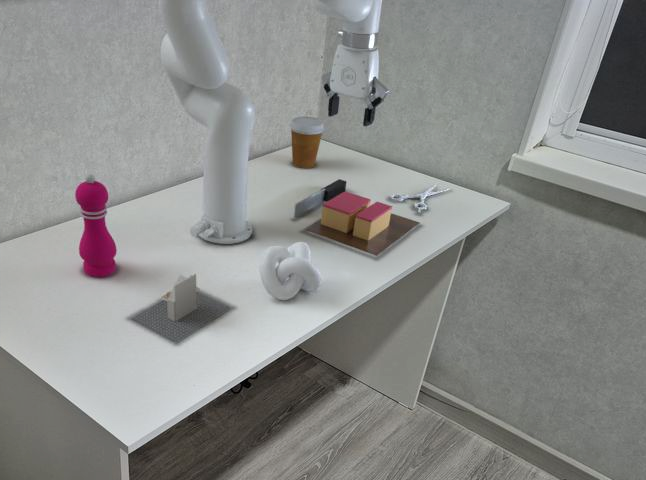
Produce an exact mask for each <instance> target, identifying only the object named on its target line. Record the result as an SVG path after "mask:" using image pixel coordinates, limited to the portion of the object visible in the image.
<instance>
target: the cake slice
mask: <svg viewBox="0 0 646 480" xmlns="http://www.w3.org/2000/svg"><path fill="white" fill-rule="evenodd" d="M392 210H393V206H392V205H390V204H387V203H383V202H380V201H375V202H373V203H372V204H370V206H369V207H368V208H366V209H365V210H363V211H361V212H360V213H358V214H357V215H356V218H355V224H354V231H353V236H356V237H359V238H362V239H365V240H367V241H369V240H370V239H371V238H373V237H374V236H376V235H377V234H378V233H380V232H381V231H382V230H384V229H385V228H387V227H388V226H389V222H390V216H391V213H392Z"/></svg>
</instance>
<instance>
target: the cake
mask: <svg viewBox="0 0 646 480" xmlns="http://www.w3.org/2000/svg"><path fill="white" fill-rule="evenodd" d="M371 201H372V200H371V198H368V197H364V196H361V195H358V194H355V193H352V192H349V191H346V190H345V192H343V193H341V194H339V195H338V196H336V197H334V198H333V199H331V200H329V201H327V202H326V201H325V202H324V203H323V204H322V208H321V210H322V211H321V218H320V219H321V224H322V225H325V226H328V227H331V228H334V229H336V230H339V231H342V232H345V233H347V232H349V231H350V230H352V229H353V228H354V224H355V218H356V215H357V214H358V213H360V212H361V211H363V210H365V209H366V208H368V207H369V206H371Z"/></svg>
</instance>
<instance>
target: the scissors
mask: <svg viewBox="0 0 646 480" xmlns="http://www.w3.org/2000/svg"><path fill="white" fill-rule="evenodd" d="M436 187H437V184H435V185H434V186H431V188H429V189H427V190H426V191H424V192H422V193H417V194H406V195H404V194H391V195H390V196H389V199H391V200H394V201H397V202H404V200H405V199H420V202H414V203H413V207H414V208H416V209H418V210H417V212H418V213H421V212H422V211H421V210H427V204H426V203H425V199H426V198H427V197H430V196H433V195H436V194H437V195H438V194H440V193H443V192H446V191H449V190H450V188H447V189H442V190H437V191H433V190H434V189H435V188H436Z"/></svg>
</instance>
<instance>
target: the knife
mask: <svg viewBox="0 0 646 480" xmlns="http://www.w3.org/2000/svg"><path fill="white" fill-rule="evenodd" d="M346 189H347V180H343V179H341V178H339V179H337V180H335V181H333V182H331V183H329V184H328V185H326V186H324V187H322V188H321V189H319V190H318V191H316V192H314V193H313V194H311V195H309V196H307V197H304V198H303V199H302V200H300V201H298V202H296V203H295V204H294V212H293V217H294V218H296V217H298V216H300V215H302V214H303V213H305V212H306V211H309V210H310V209H312V208H314V207H315V206H317V205H319V204H320V203H322V202H325V203H326V202H327V201H329V200H331V199H333V198H334V197H336V196H338V195H339V194H341V193H343V192H345V191H346Z"/></svg>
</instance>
